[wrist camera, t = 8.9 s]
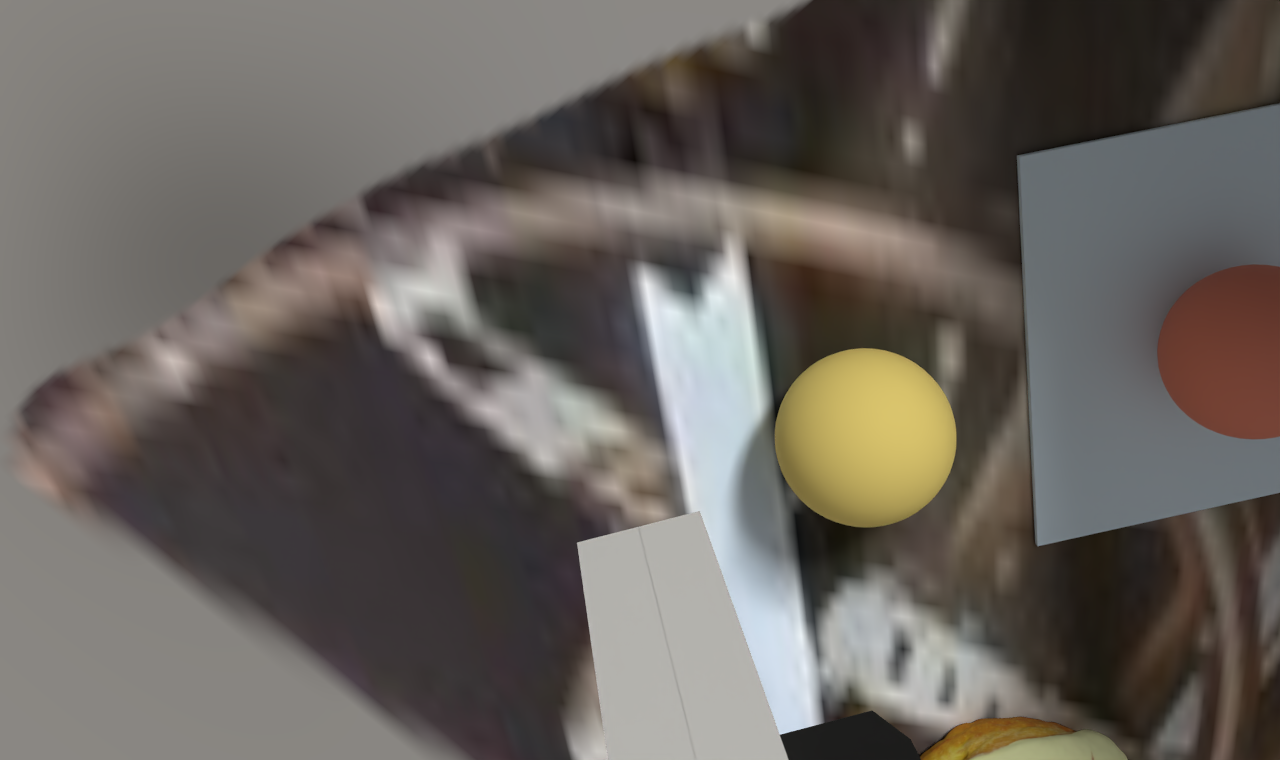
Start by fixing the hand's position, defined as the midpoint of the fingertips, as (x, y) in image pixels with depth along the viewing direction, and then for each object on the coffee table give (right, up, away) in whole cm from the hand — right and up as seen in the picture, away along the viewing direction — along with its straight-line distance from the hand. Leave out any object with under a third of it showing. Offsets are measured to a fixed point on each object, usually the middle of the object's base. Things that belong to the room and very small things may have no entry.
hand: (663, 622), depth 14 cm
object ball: (+19, +4, +23) cm, 30 cm away
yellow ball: (+7, +1, +22) cm, 23 cm away
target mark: (+19, +5, +25) cm, 32 cm away
